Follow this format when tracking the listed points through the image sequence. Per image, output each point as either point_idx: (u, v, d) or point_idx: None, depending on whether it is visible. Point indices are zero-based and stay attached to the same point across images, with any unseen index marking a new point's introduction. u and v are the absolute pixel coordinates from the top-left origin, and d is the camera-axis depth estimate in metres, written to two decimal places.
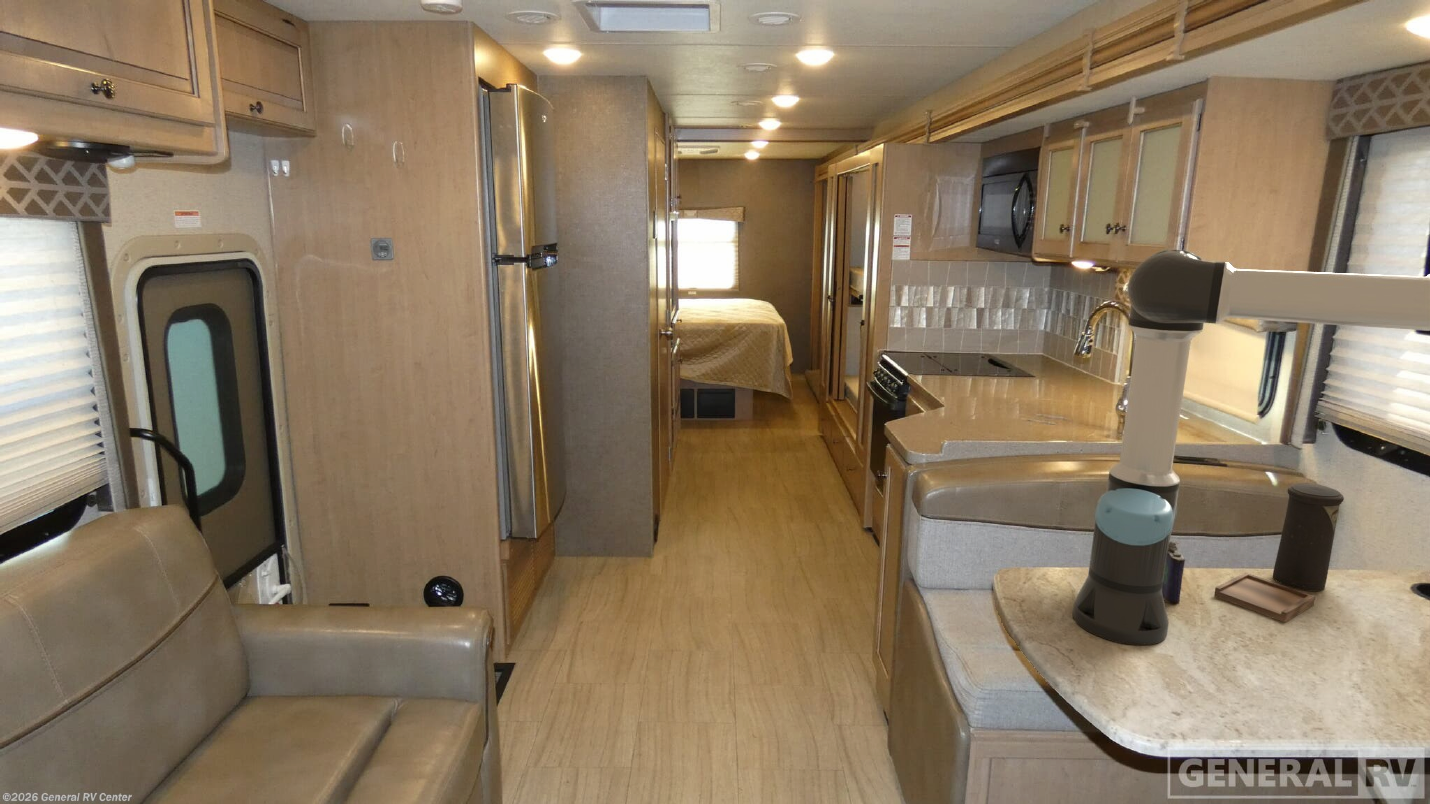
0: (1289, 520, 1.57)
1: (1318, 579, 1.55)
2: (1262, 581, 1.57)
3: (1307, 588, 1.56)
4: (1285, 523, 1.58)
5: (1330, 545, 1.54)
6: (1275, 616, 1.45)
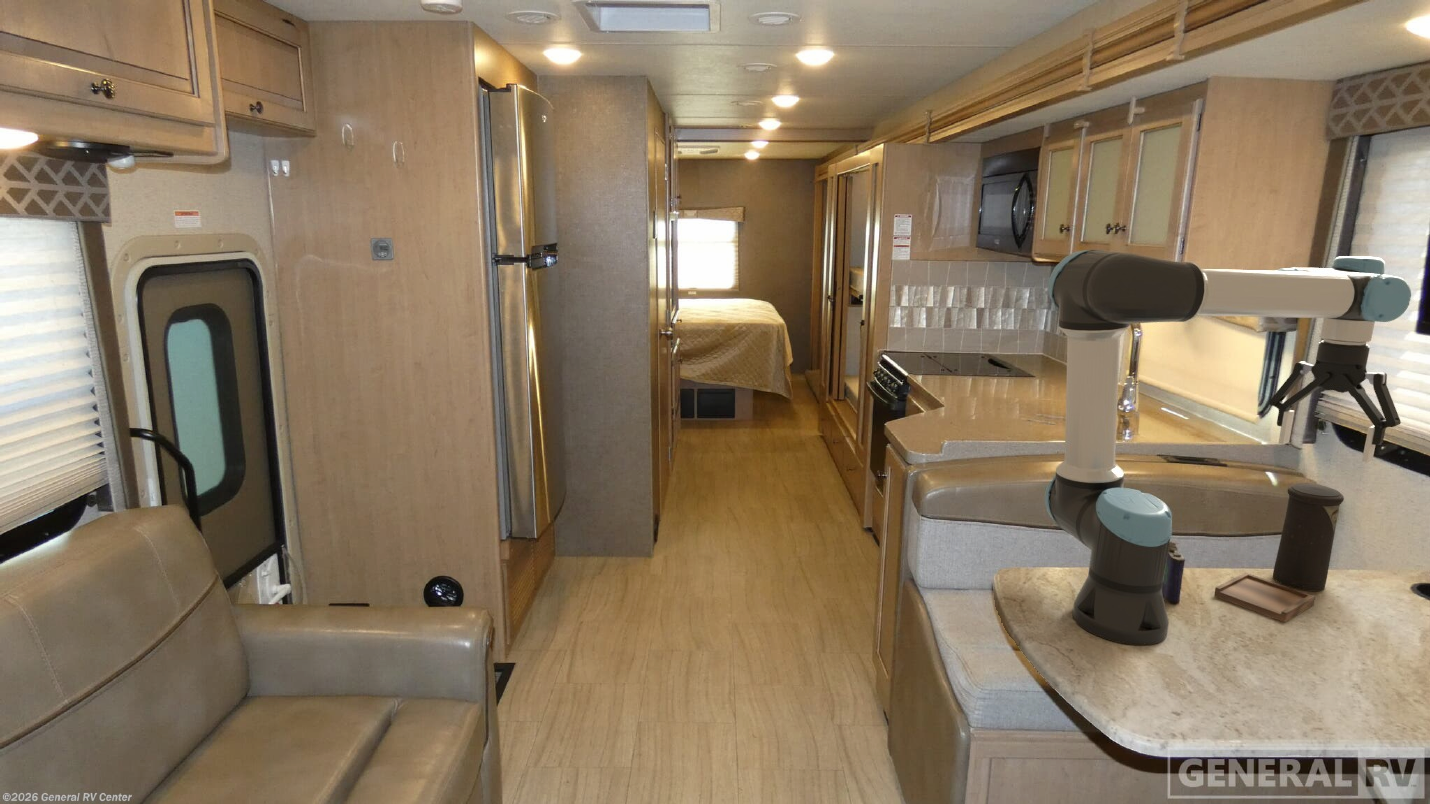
0: (1289, 520, 1.57)
1: (1318, 579, 1.55)
2: (1262, 581, 1.57)
3: (1307, 588, 1.56)
4: (1285, 523, 1.58)
5: (1330, 545, 1.54)
6: (1275, 616, 1.45)
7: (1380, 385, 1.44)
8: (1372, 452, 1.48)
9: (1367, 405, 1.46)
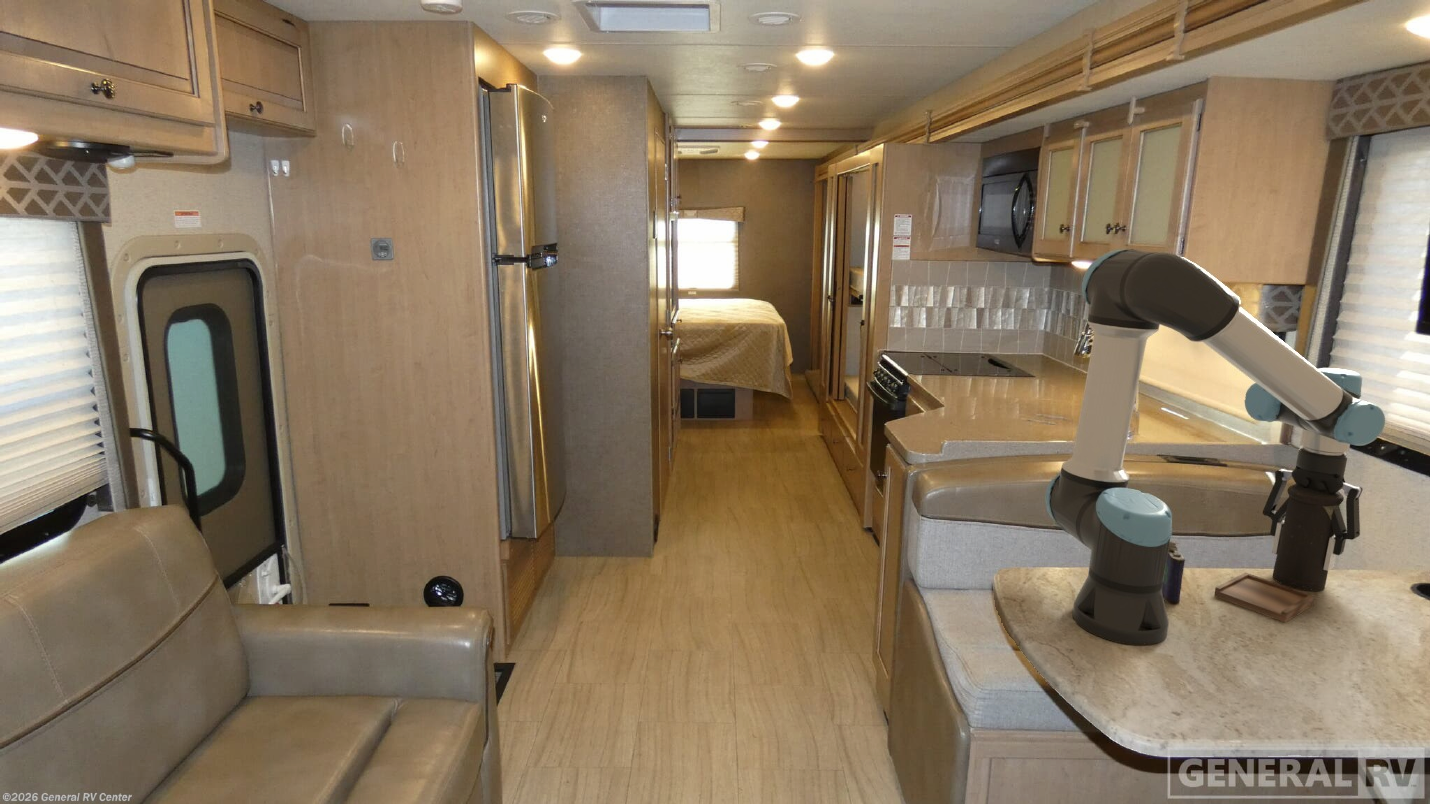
0: (1289, 520, 1.57)
1: (1318, 579, 1.55)
2: (1262, 581, 1.57)
3: (1307, 588, 1.56)
4: (1285, 523, 1.58)
5: None
6: (1275, 616, 1.45)
7: (1353, 500, 1.49)
8: (1333, 560, 1.55)
9: (1334, 516, 1.52)
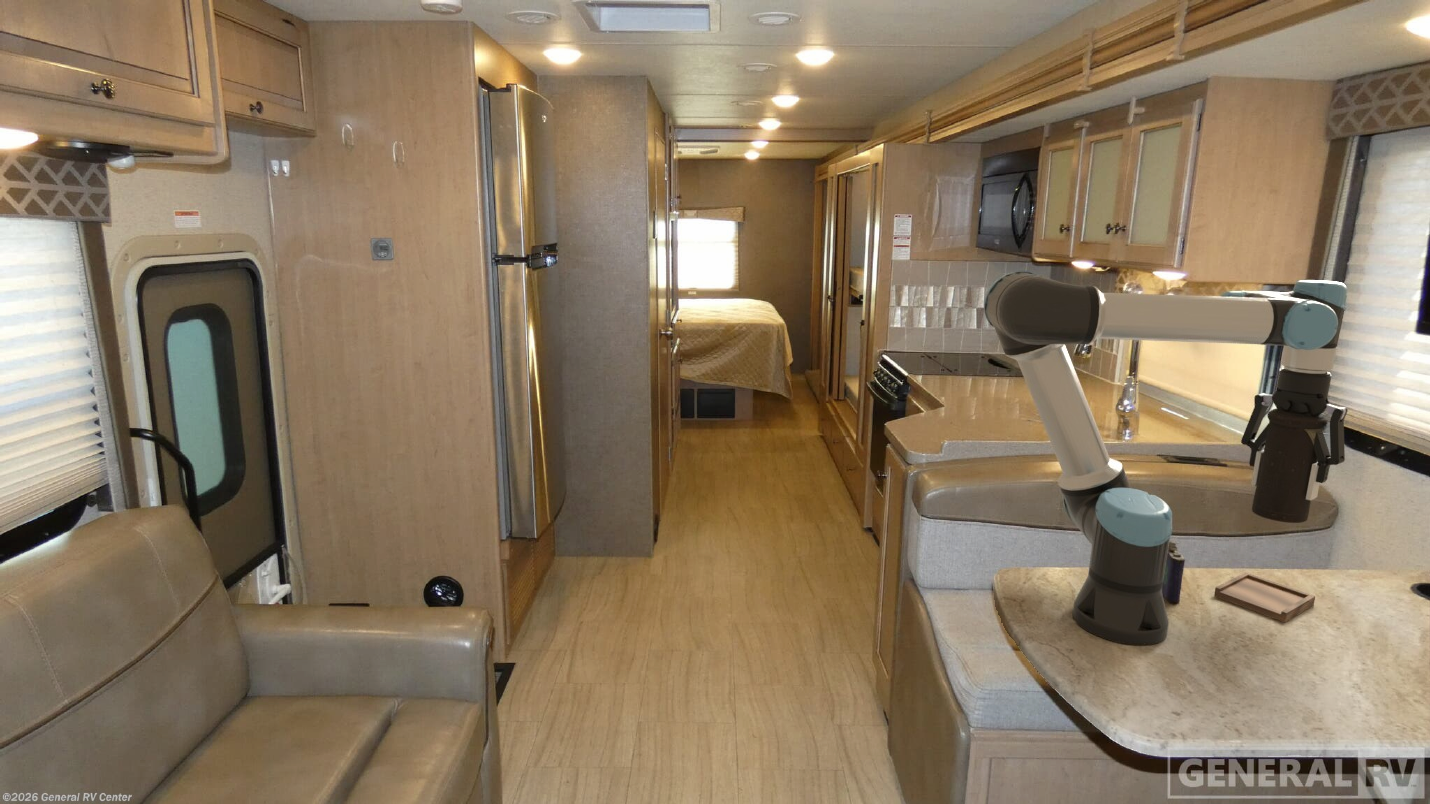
0: (1269, 447, 1.45)
1: (1300, 510, 1.44)
2: (1262, 581, 1.57)
3: (1288, 520, 1.44)
4: (1265, 451, 1.47)
5: None
6: (1275, 616, 1.45)
7: (1337, 421, 1.38)
8: (1316, 489, 1.43)
9: (1317, 440, 1.41)
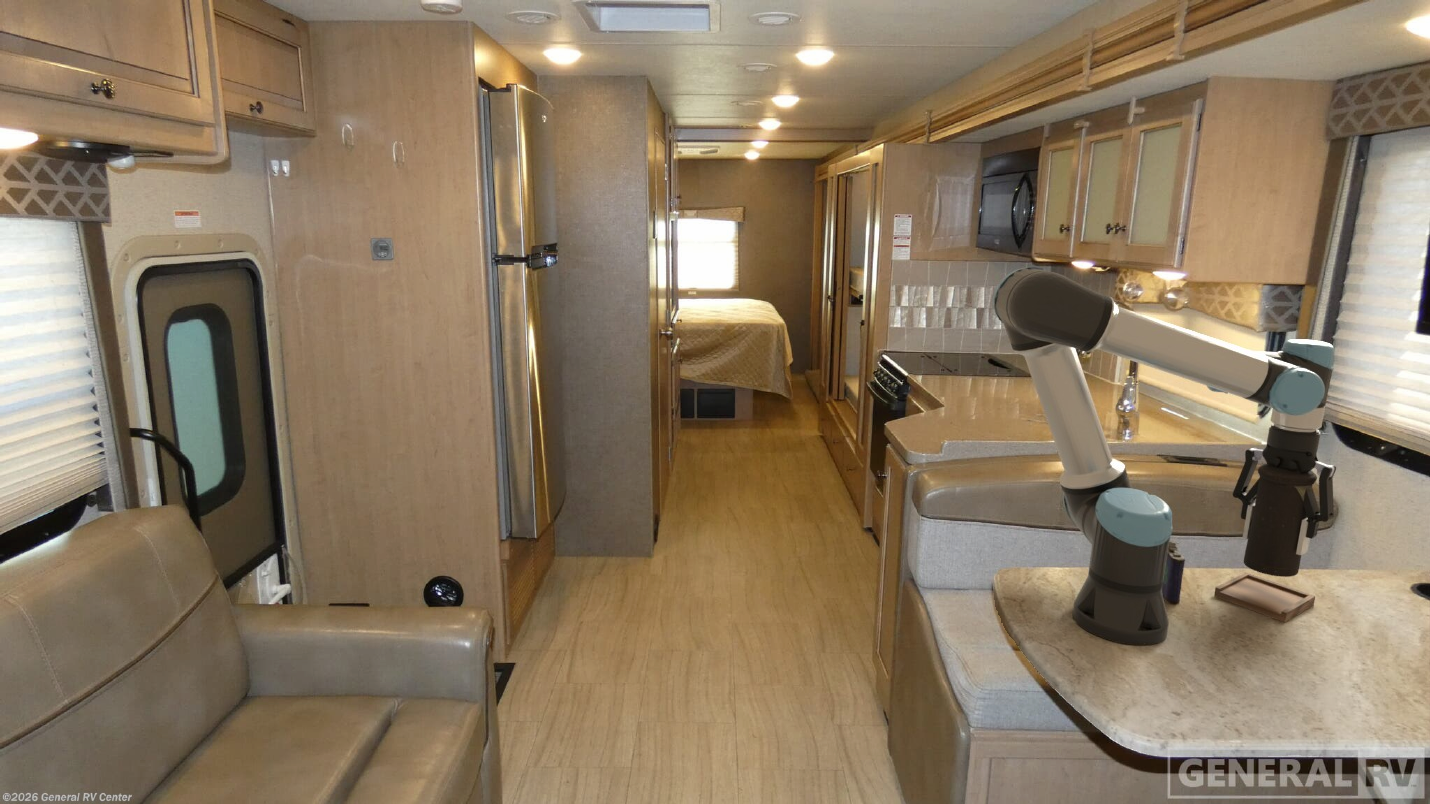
0: (1260, 502, 1.48)
1: (1291, 564, 1.46)
2: (1262, 581, 1.57)
3: (1279, 574, 1.47)
4: (1256, 505, 1.49)
5: None
6: (1275, 616, 1.45)
7: (1326, 479, 1.40)
8: (1306, 544, 1.45)
9: (1307, 497, 1.43)
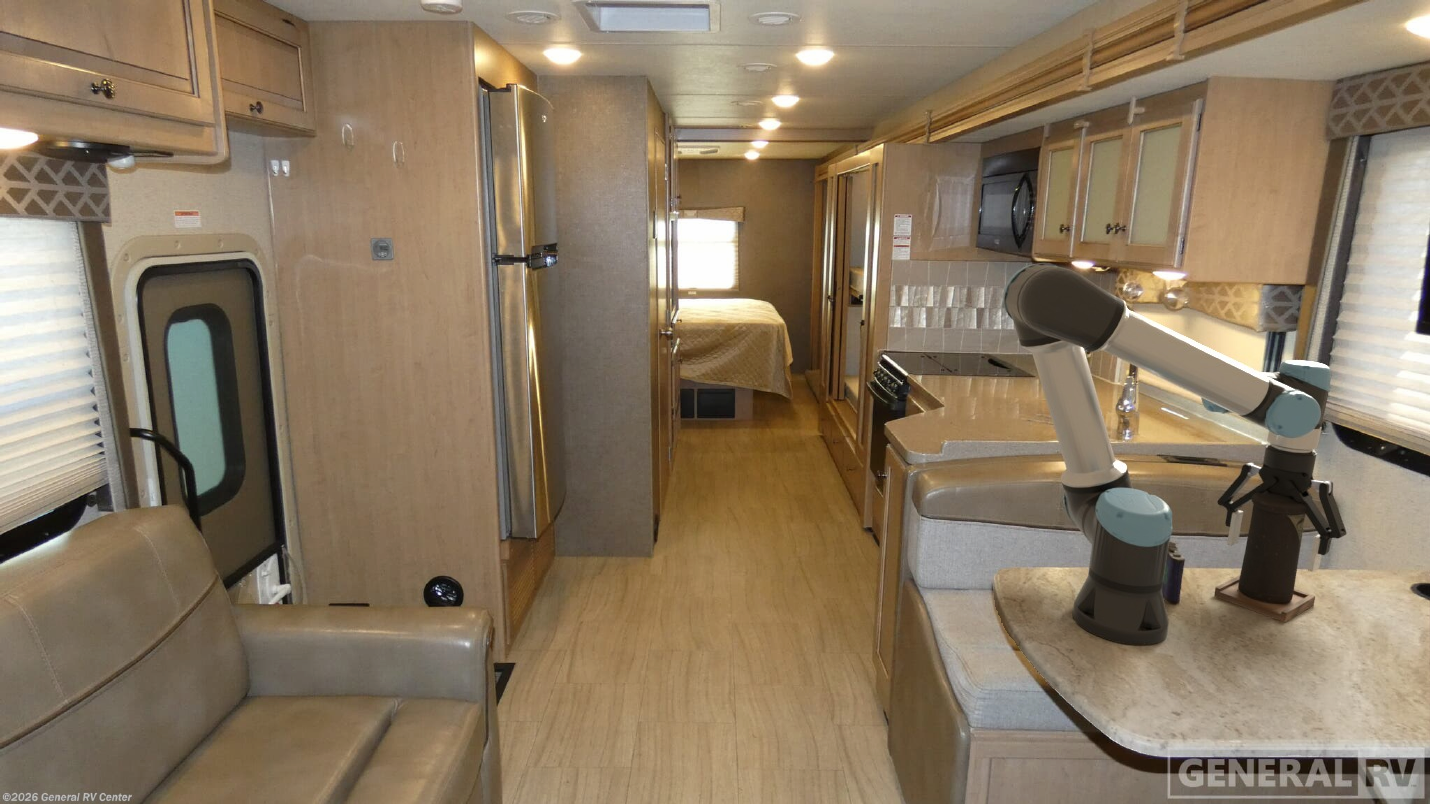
0: (1254, 530, 1.48)
1: (1285, 591, 1.47)
2: None
3: (1273, 601, 1.48)
4: (1249, 532, 1.50)
5: (1296, 555, 1.46)
6: (1275, 616, 1.45)
7: (1326, 495, 1.41)
8: (1318, 561, 1.44)
9: (1312, 514, 1.42)
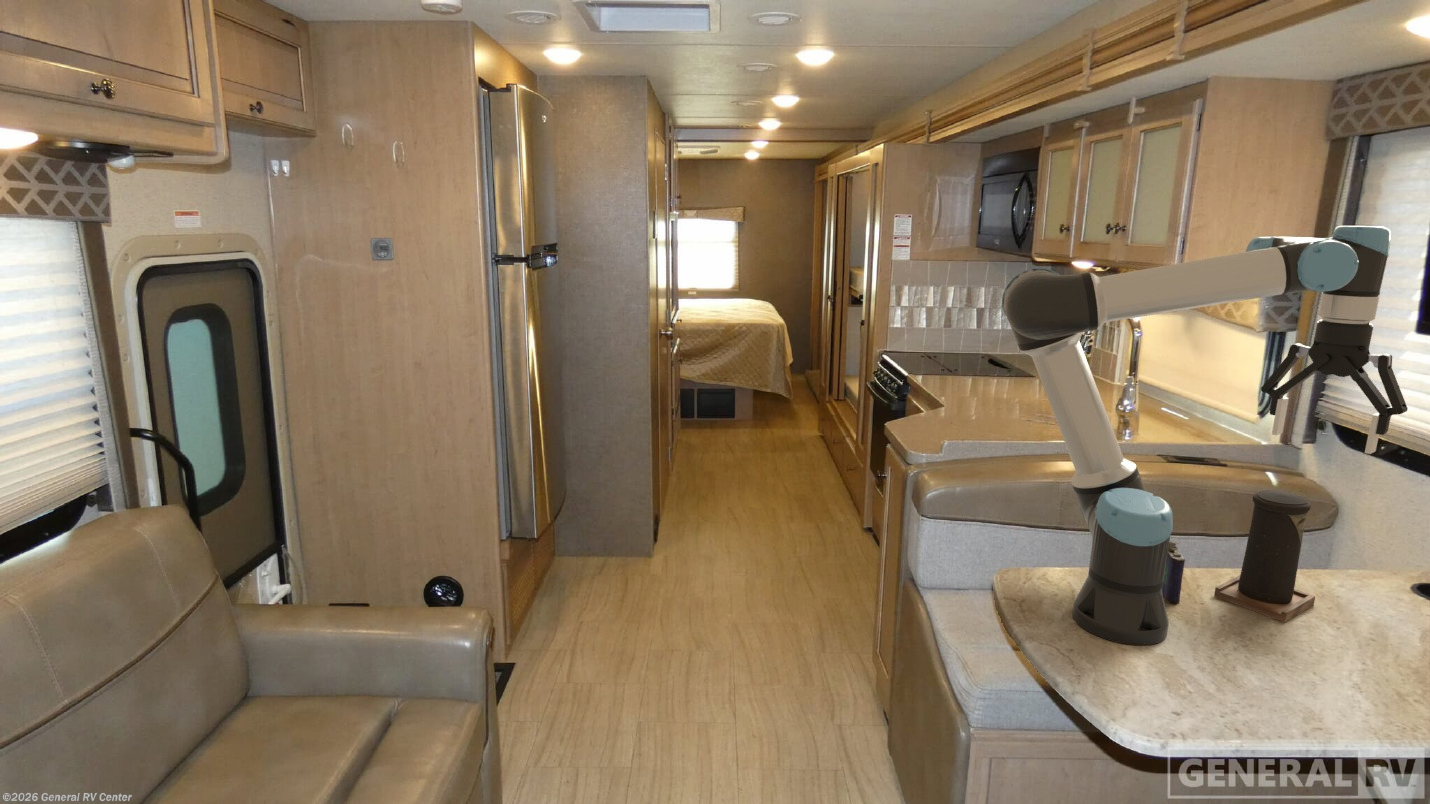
0: (1254, 530, 1.49)
1: (1285, 591, 1.47)
2: None
3: (1273, 601, 1.48)
4: (1250, 532, 1.50)
5: (1297, 555, 1.46)
6: (1275, 616, 1.45)
7: (1386, 368, 1.30)
8: (1375, 442, 1.34)
9: (1370, 390, 1.32)
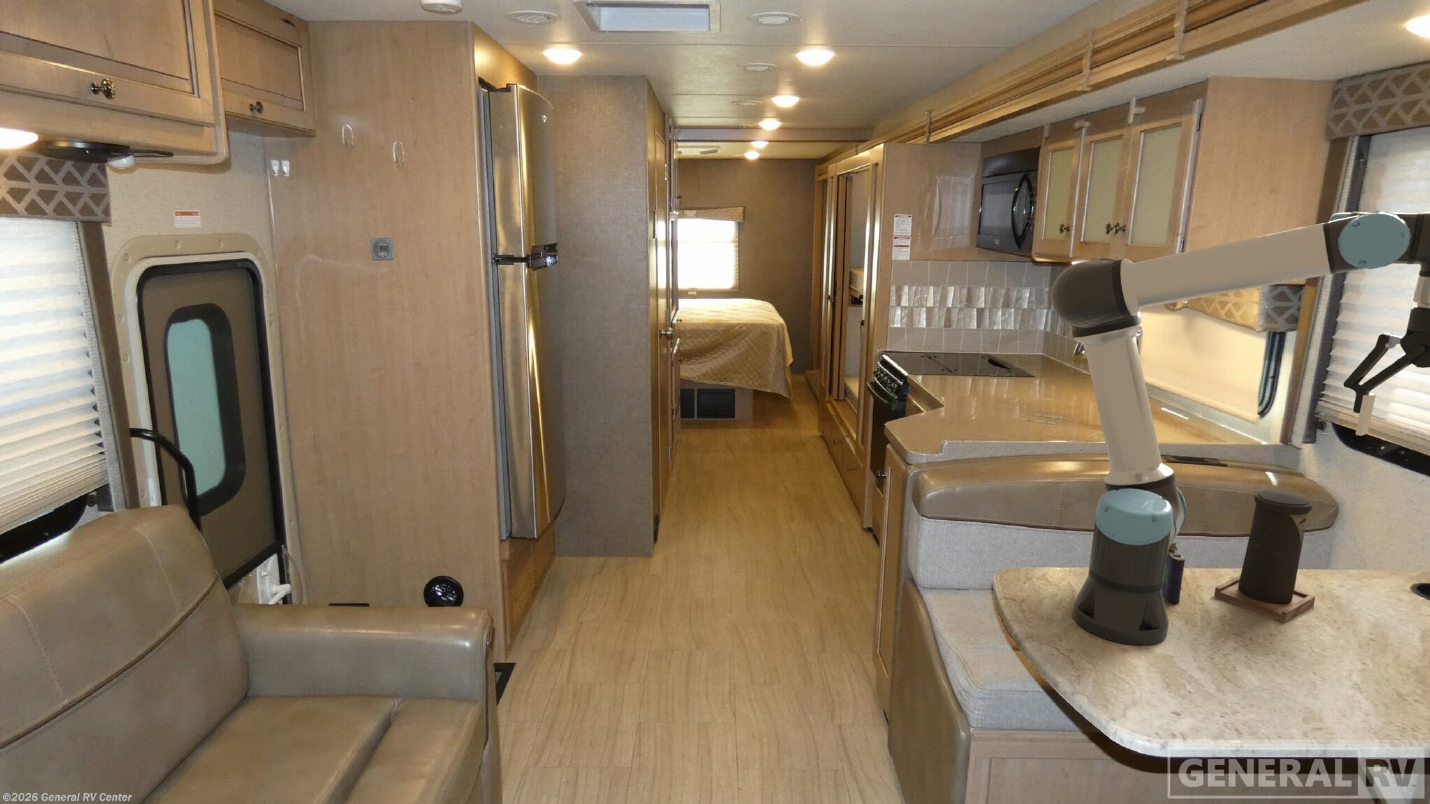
0: (1255, 529, 1.49)
1: (1285, 591, 1.47)
2: None
3: (1273, 601, 1.48)
4: (1251, 532, 1.50)
5: (1297, 556, 1.46)
6: (1275, 616, 1.45)
7: None
8: None
9: None
